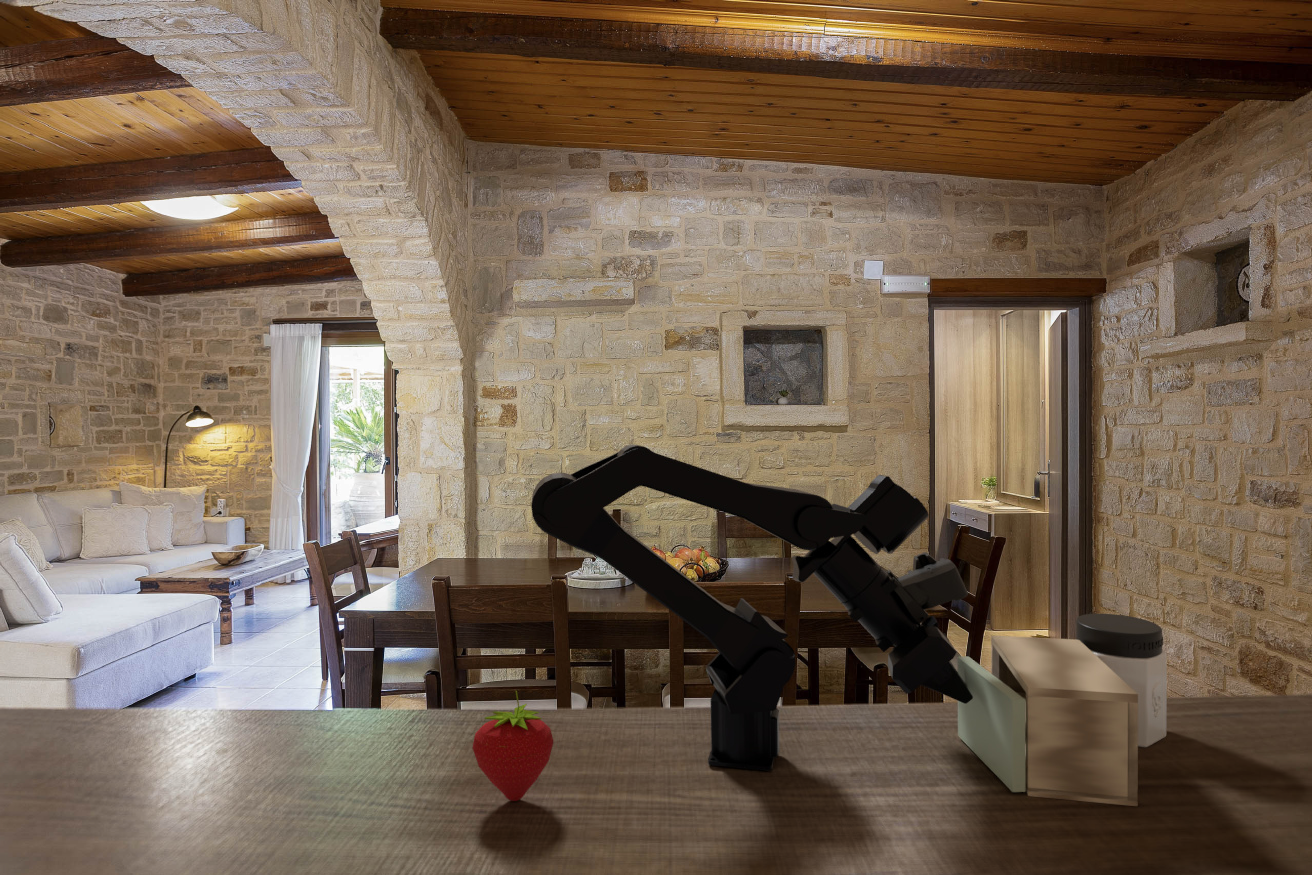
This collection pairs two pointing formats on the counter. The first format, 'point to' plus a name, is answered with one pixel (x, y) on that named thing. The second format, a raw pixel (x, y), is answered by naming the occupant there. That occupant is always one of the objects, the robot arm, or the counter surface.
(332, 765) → the counter surface
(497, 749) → the strawberry
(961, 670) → the door
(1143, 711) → the jar
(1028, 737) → the cabinet
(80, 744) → the counter surface
